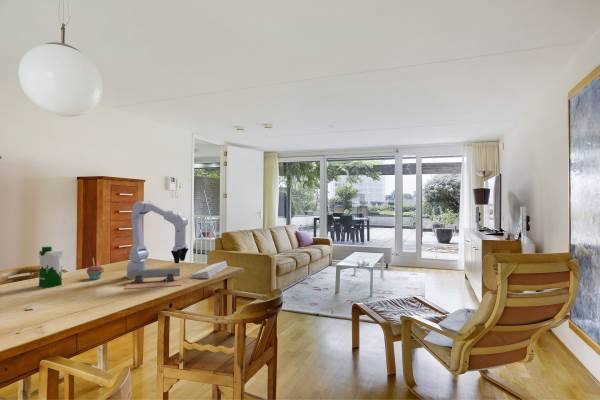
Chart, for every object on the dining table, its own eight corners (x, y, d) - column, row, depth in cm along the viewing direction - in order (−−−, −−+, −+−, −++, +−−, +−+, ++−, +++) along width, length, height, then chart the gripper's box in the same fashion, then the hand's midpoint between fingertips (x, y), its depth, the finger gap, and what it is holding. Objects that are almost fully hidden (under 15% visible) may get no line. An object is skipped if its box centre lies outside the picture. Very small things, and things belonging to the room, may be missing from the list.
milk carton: (35, 286, 177) (36, 246, 177) (54, 282, 185) (55, 245, 185) (46, 288, 173) (47, 248, 173) (64, 284, 182) (65, 246, 182)
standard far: (165, 282, 191) (166, 273, 191) (165, 278, 201) (165, 269, 201) (174, 282, 192) (174, 273, 192) (173, 277, 202) (174, 269, 202)
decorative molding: (193, 283, 203) (209, 279, 202) (191, 275, 204) (207, 271, 203) (213, 271, 237) (227, 267, 236) (212, 264, 237) (226, 260, 236)
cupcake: (82, 279, 194) (83, 257, 194) (96, 276, 202) (97, 255, 202) (93, 280, 191) (93, 259, 191) (107, 277, 199) (107, 256, 199)
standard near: (133, 284, 185) (133, 275, 185) (135, 280, 195) (135, 271, 195) (142, 284, 186) (142, 274, 186) (143, 279, 197) (143, 270, 197)
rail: (128, 279, 187) (128, 271, 187) (128, 277, 190) (129, 270, 190) (179, 276, 196) (179, 269, 196) (179, 274, 200) (179, 267, 200)
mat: (124, 289, 175) (124, 288, 175) (126, 285, 184) (126, 284, 184) (181, 285, 185) (181, 284, 185) (180, 281, 194) (180, 281, 194)
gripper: (182, 239, 191) (181, 264, 191) (191, 237, 205) (191, 260, 205) (169, 239, 191) (168, 264, 191) (180, 236, 206) (179, 259, 206)
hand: (179, 262), depth 198 cm, fingers open, 7 cm apart
